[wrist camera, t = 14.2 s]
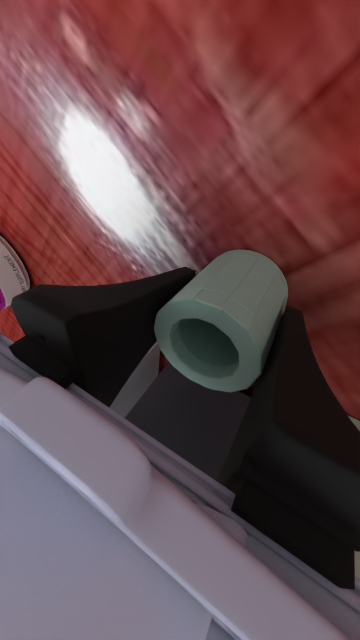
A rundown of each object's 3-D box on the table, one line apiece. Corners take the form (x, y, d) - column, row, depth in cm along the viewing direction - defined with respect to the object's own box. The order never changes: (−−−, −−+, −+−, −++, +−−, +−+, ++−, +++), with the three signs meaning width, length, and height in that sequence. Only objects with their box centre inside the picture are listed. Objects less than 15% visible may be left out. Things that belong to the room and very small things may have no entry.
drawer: (110, 381, 26) (61, 433, 22) (96, 306, 19) (15, 361, 14) (268, 481, 21) (244, 579, 16) (340, 432, 13) (335, 592, 9)
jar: (250, 338, 14) (217, 404, 10) (191, 290, 14) (141, 340, 11) (311, 290, 10) (293, 365, 7) (232, 229, 11) (178, 273, 7)
